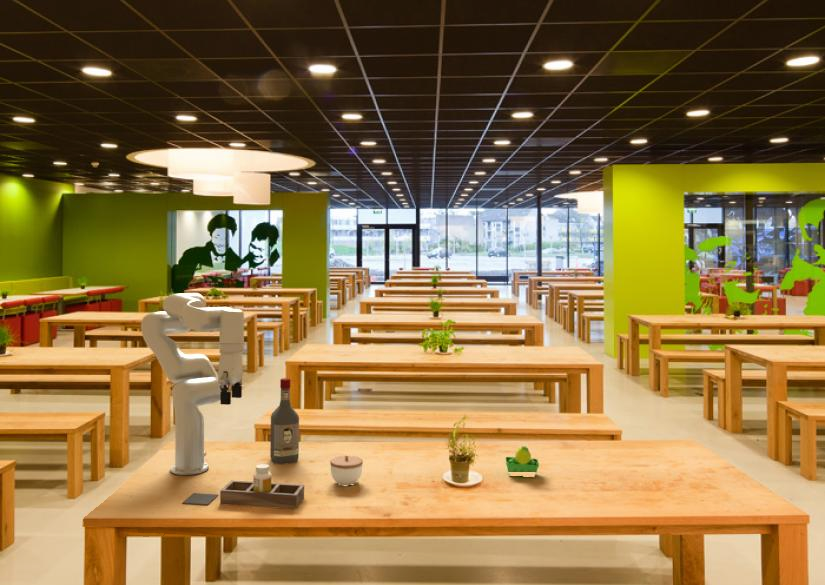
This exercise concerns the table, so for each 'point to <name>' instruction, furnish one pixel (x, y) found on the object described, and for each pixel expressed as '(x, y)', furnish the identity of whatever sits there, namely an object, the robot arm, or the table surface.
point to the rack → (262, 495)
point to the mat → (200, 499)
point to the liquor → (284, 429)
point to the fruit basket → (522, 461)
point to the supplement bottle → (262, 479)
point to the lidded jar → (346, 469)
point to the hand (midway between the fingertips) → (231, 400)
